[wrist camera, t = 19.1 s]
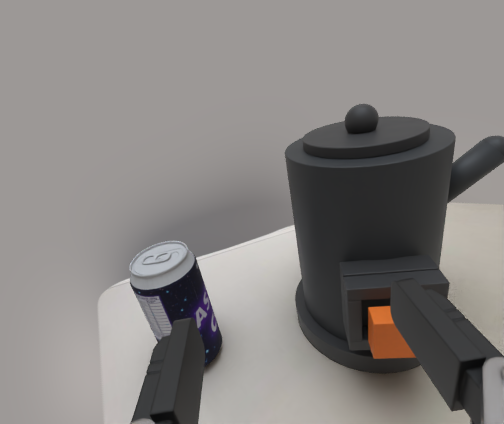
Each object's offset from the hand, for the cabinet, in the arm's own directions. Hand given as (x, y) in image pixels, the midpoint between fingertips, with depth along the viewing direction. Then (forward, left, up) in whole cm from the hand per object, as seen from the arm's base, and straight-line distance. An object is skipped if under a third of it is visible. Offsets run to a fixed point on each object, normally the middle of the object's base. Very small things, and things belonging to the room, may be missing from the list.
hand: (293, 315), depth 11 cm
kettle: (+17, -2, -15) cm, 23 cm away
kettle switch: (+7, -4, -9) cm, 12 cm away
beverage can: (+6, +14, -15) cm, 22 cm away
